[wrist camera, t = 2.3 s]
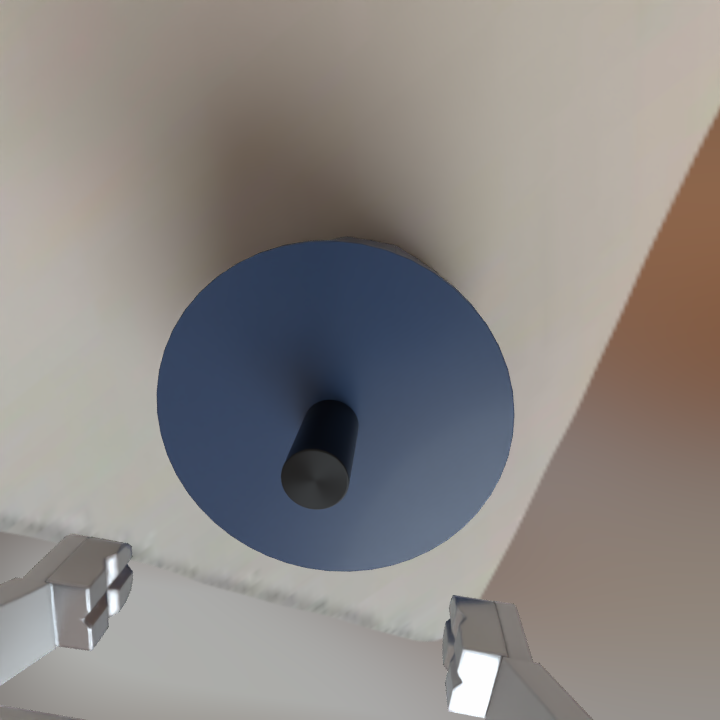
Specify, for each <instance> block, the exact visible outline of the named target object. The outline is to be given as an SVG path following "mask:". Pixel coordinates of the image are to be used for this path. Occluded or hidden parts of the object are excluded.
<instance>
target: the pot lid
mask: <svg viewBox="0 0 720 720" xmlns="http://www.w3.org/2000/svg"><path fill="white" fill-rule="evenodd" d="M157 414H158V420H159V426H160V432H161V436H162V440H163V443H164V446H165V449H166V452H167V455H168V457H169V460H170V462H171V464H172V466H173V468H174V471H175V473H176V475H177V476H178V478H179V480H180V481H181V483H182V484H183V486H184V488H185V489H186V491H187V492H188V494H189V495H190V496H191V497H192V499H193V500H194V501H195V502H196V504H197V505H198V506H199V507H200V508H201V509H202V510H203V511H204V512H205V513H206V514H207V515H208V516H209V517H210V518H211V519H212V520H213V521H214V522H215V523H216V524H217V525H218V526H220V527H221V528H222V529H223V530H225V531H226V532H227V533H228V534H230V535H231V536H232V537H234V538H236V539H237V540H239V541H240V542H242V543H244V544H245V545H247V546H248V547H250V548H252V549H254V550H256V551H258V552H260V553H262V554H265V555H267V556H269V557H272V558H275V559H277V560H280V561H283V562H286V563H289V564H293V565H297V566H301V567H305V568H310V569H318V570H325V571H361V570H372V569H377V568H382V567H387V566H391V565H395V564H398V563H401V562H404V561H407V560H410V559H413V558H415V557H417V556H419V555H421V554H424V553H426V552H428V551H430V550H432V549H433V548H435V547H437V546H438V545H440V544H442V543H443V542H445V541H447V540H448V539H449V538H450V537H452V536H453V535H454V534H456V533H457V532H458V531H459V530H461V529H462V528H463V527H464V526H465V525H466V524H467V523H468V522H469V521H470V520H471V519H472V518H473V517H474V516H475V515H476V514H477V513H478V512H479V510H480V509H481V507H482V506H483V505H484V503H485V502H486V501H487V499H488V498H489V497H490V495H491V493H492V492H493V490H494V488H495V486H496V484H497V483H498V481H499V479H500V477H501V474H502V472H503V469H504V466H505V464H506V461H507V458H508V455H509V451H510V446H511V442H512V437H513V426H514V402H513V390H512V386H511V381H510V377H509V372H508V368H507V366H506V363H505V360H504V358H503V355H502V353H501V350H500V347H499V345H498V343H497V342H496V340H495V338H494V336H493V334H492V333H491V331H490V329H489V327H488V326H487V324H486V323H485V322H484V320H483V319H482V318H481V316H480V315H479V314H478V312H477V311H476V310H475V308H474V307H473V306H472V304H471V303H470V302H469V301H468V300H467V299H466V298H465V297H464V296H463V295H462V294H461V293H460V292H459V291H458V290H457V289H456V288H455V287H454V286H452V285H451V284H450V283H448V282H447V281H446V280H444V279H443V278H442V277H440V276H439V275H438V274H437V273H435V272H434V271H432V270H430V269H429V268H427V267H425V266H423V265H422V264H420V263H418V262H416V261H414V260H413V259H411V258H408V257H406V256H403V255H401V254H398V253H396V252H393V251H391V250H388V249H385V248H381V247H377V246H373V245H369V244H365V243H359V242H350V241H341V240H315V241H305V242H299V243H293V244H287V245H283V246H280V247H277V248H273V249H270V250H267V251H264V252H261V253H258V254H256V255H254V256H252V257H250V258H248V259H245V260H243V261H241V262H239V263H237V264H236V265H234V266H233V267H231V268H230V269H228V270H226V271H225V272H223V273H222V274H220V275H219V276H217V277H216V278H215V279H214V280H213V281H212V282H211V283H210V284H208V285H207V286H206V287H205V288H204V289H203V290H202V291H201V292H199V294H198V295H197V296H196V297H195V298H194V300H193V301H192V302H191V303H190V305H189V306H188V307H187V308H186V309H185V311H184V312H183V314H182V316H181V317H180V319H179V321H178V322H177V324H176V325H175V327H174V329H173V331H172V333H171V336H170V338H169V340H168V343H167V345H166V347H165V350H164V354H163V358H162V362H161V365H160V369H159V376H158V385H157Z"/></svg>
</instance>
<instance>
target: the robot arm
mask: <svg viewBox="0 0 720 720" xmlns="http://www.w3.org/2000/svg"><path fill="white" fill-rule="evenodd" d="M131 558H132V546H131V545H129V544H128V543H123V542H117V541H112V540H106V539H101V538H96V537H87V536H82V535H77V534H70V535H67V536H66V537H64V538H63V539H62V540H61V541H60V542H59V543H58V544H57V545H56V546H55V547H54V548H53V549H52V550H51V551H50V552H49V553H48V554H47V555H46V556H45V557H44V558H43V559H42V560H41V561H40V562H38V564H36V565H35V566H34V567H33V568H32V569H31V570H30V571H29V572H28V573H27V574H26V575H25V576H24V577H23V578H14V579H11V580H9V581H7V582H4V583H2V584H0V685H2V684H3V683H5V682H6V681H8V680H9V679H11V678H12V677H14V676H15V675H17V674H18V673H20V672H21V671H23V670H24V669H25V668H27V667H29V666H30V665H31V664H33V663H34V662H36V661H37V660H39V659H40V658H41V657H43V656H45V655H46V654H48V653H49V652H51V651H52V650H54V649H55V648H56V646H59V647H66V648H74V649H81V650H89V651H92V650H93V649H94V647H95V646H96V644H97V643H98V642H99V640H100V639H101V637H102V636H103V634H104V633H105V632H106V630H107V629H108V627H109V623H108V618H109V617H111V616H113V615H115V614H116V613H118V612H120V610H121V608H122V607H123V606H124V604H125V603H126V601H127V598H128V596H129V593H130V591H131V587H132V581H133V571H132V570H131V569H130V567H129V566H128V565H127V563H128V562H129V561H130V559H131ZM449 612H450V619H449V620H448V621H446V623H445V628H444V634H443V665H444V667H445V668H446V669H447V671H448V673H447V677H446V682H445V686H446V695H447V705H448V711H451V712H456V713H461V714H466V715H471V716H477V717H481V718H486V719H485V720H593V719H592V718H591V717H590V716H589V715H588V714H587V712H585V710H584V709H583V708H582V707H581V706H580V705H579V704H578V703H577V702H576V701H575V700H574V699H573V698H572V697H571V696H570V695H569V694H568V693H567V692H566V690H565V689H564V688H563V687H562V686H561V685H560V684H559V683H558V682H557V681H556V680H555V679H554V678H553V677H552V676H551V675H550V673H549V672H548V671H547V670H546V669H545V668H544V667H543V666H542V665H541V664H540V663H536V662H533V659H532V656H531V652H530V649H529V646H528V643H527V639H526V636H525V633H524V630H523V627H522V623H521V620H520V617H519V613H518V610H517V607H516V606H515V605H514V604H512V603H505V602H498V601H489V600H482V599H476V598H469V597H462V596H456V595H453V596H452V598H451V601H450V606H449ZM0 720H85V719H79V718H73V717H67V716H61V715H56V714H50V713H44V712H38V711H33V710H27V709H21V708H15V707H10V706H4V705H0Z"/></svg>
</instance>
